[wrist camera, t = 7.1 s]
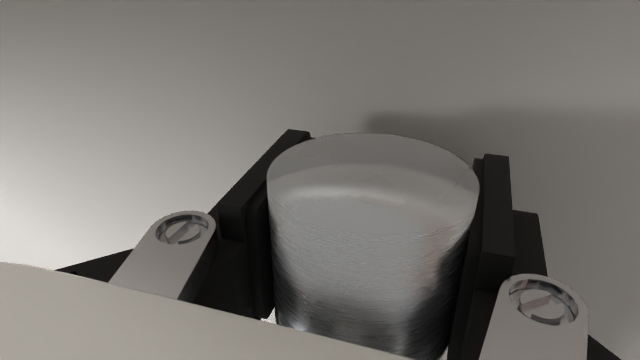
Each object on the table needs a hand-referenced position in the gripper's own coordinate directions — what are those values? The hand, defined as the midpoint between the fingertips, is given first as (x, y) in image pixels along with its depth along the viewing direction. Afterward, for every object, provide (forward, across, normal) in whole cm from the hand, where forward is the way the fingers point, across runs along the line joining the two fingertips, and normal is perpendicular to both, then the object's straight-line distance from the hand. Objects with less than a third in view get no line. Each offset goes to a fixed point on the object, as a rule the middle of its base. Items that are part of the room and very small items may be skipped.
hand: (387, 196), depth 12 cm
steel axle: (-3, 0, +7) cm, 7 cm away
